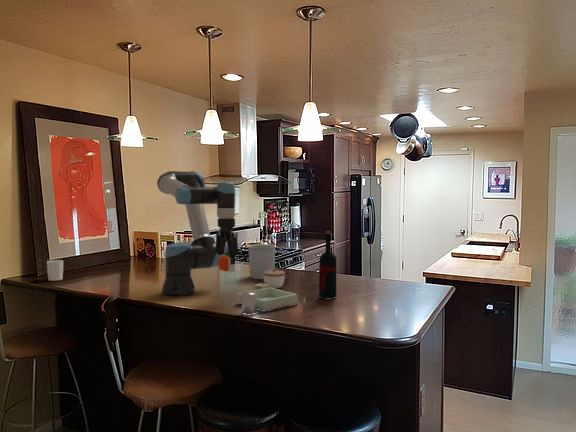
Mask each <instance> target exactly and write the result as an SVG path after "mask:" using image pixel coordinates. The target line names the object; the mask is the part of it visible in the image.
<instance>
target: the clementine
mask: <svg viewBox="0 0 576 432" xmlns="http://www.w3.org/2000/svg"><path fill="white" fill-rule="evenodd" d="M224 255H225V256H222V257H221V258H220V259H219V261H218V266H217V267H218V269H219V268H220V269H221V270H220V271H223V272H229V261H228V256H229V255H228V254H224Z"/></svg>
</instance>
